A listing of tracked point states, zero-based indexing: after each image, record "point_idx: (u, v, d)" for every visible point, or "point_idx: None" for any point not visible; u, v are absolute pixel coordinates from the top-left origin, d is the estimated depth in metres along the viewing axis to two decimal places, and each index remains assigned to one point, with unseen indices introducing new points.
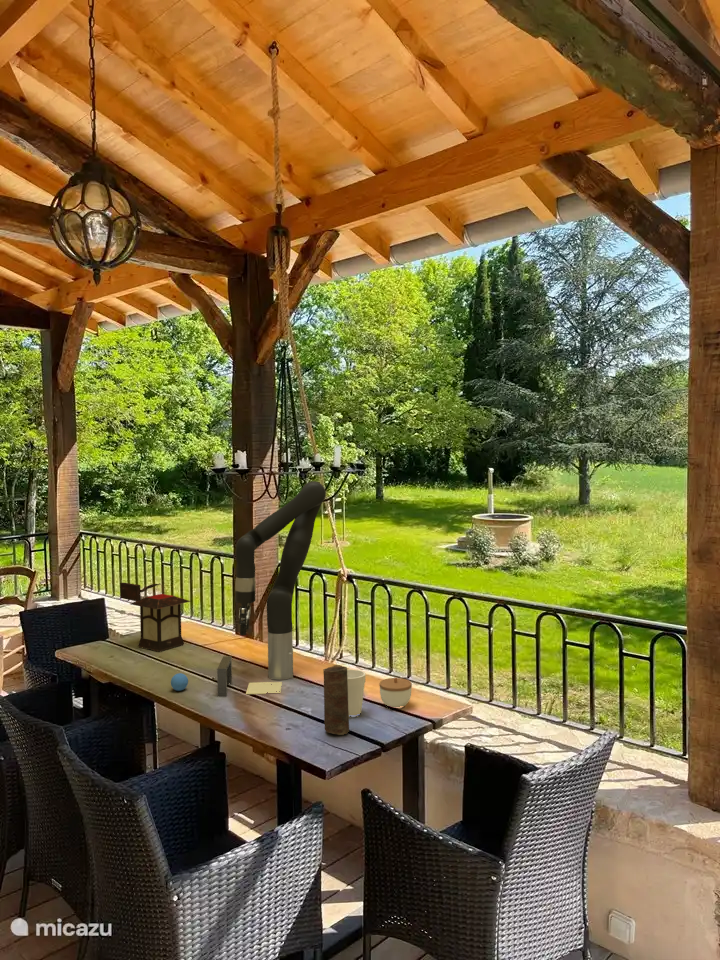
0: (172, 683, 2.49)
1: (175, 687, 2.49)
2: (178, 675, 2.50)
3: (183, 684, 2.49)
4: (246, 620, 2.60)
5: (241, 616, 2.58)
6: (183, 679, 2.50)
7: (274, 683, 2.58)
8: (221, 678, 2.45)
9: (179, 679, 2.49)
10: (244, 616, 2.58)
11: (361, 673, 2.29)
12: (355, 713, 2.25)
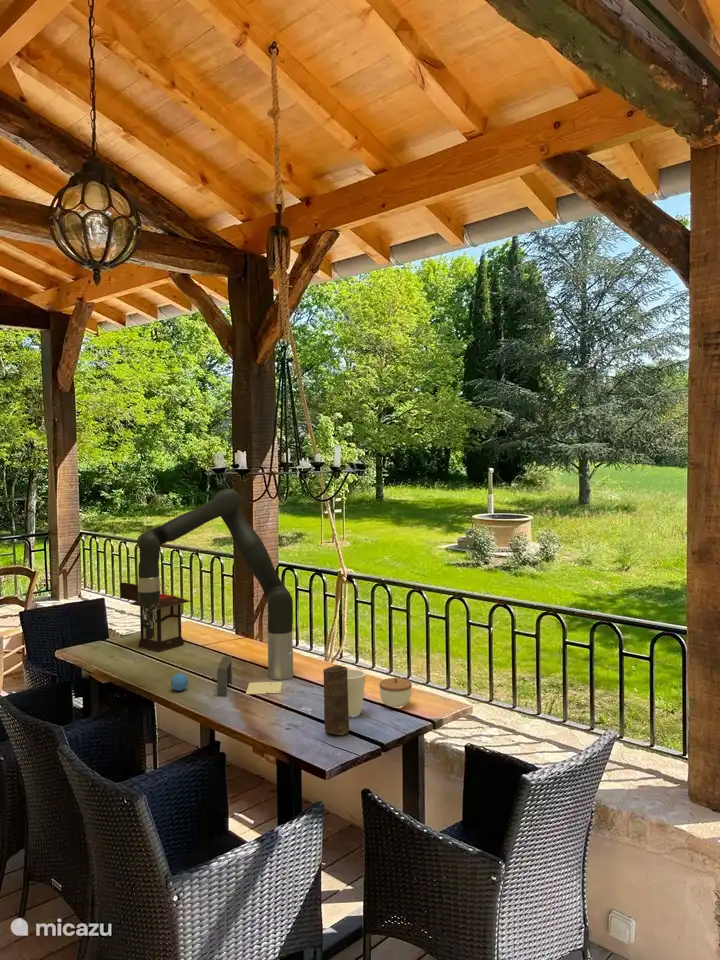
0: (172, 683, 2.49)
1: (175, 687, 2.49)
2: (178, 675, 2.50)
3: (183, 684, 2.49)
4: (151, 624, 2.48)
5: (144, 622, 2.45)
6: (183, 679, 2.50)
7: (274, 683, 2.58)
8: (221, 678, 2.45)
9: (179, 679, 2.49)
10: (147, 622, 2.45)
11: (361, 673, 2.29)
12: (355, 713, 2.25)
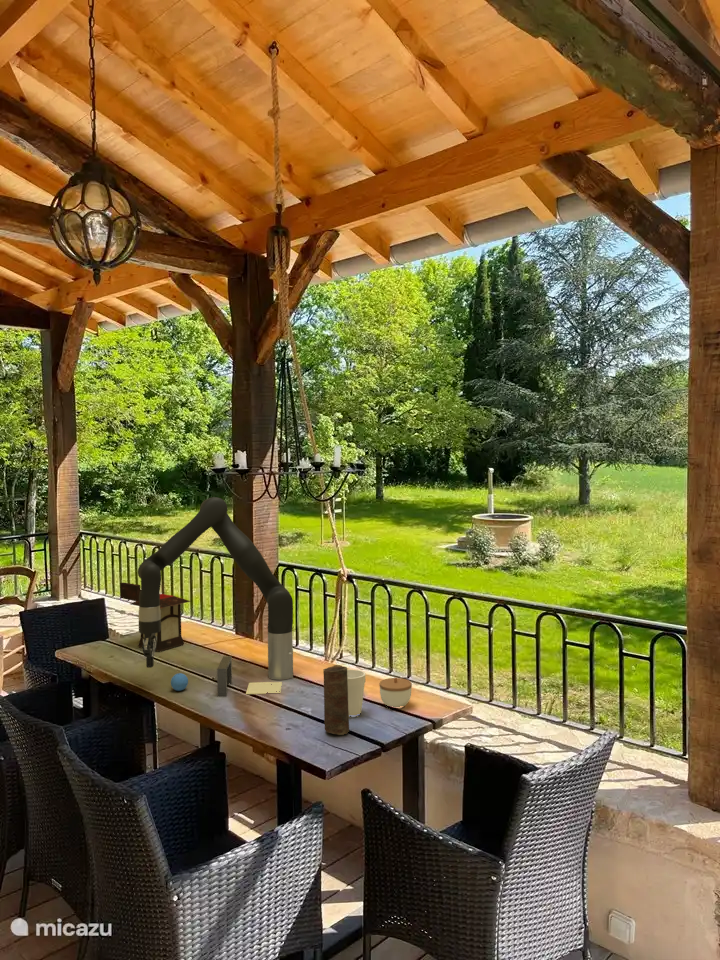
0: (172, 683, 2.49)
1: (175, 687, 2.49)
2: (178, 675, 2.50)
3: (183, 684, 2.49)
4: (152, 653, 2.49)
5: (145, 652, 2.46)
6: (183, 679, 2.50)
7: (274, 683, 2.58)
8: (221, 678, 2.45)
9: (179, 679, 2.49)
10: (148, 652, 2.46)
11: (361, 673, 2.29)
12: (355, 713, 2.25)
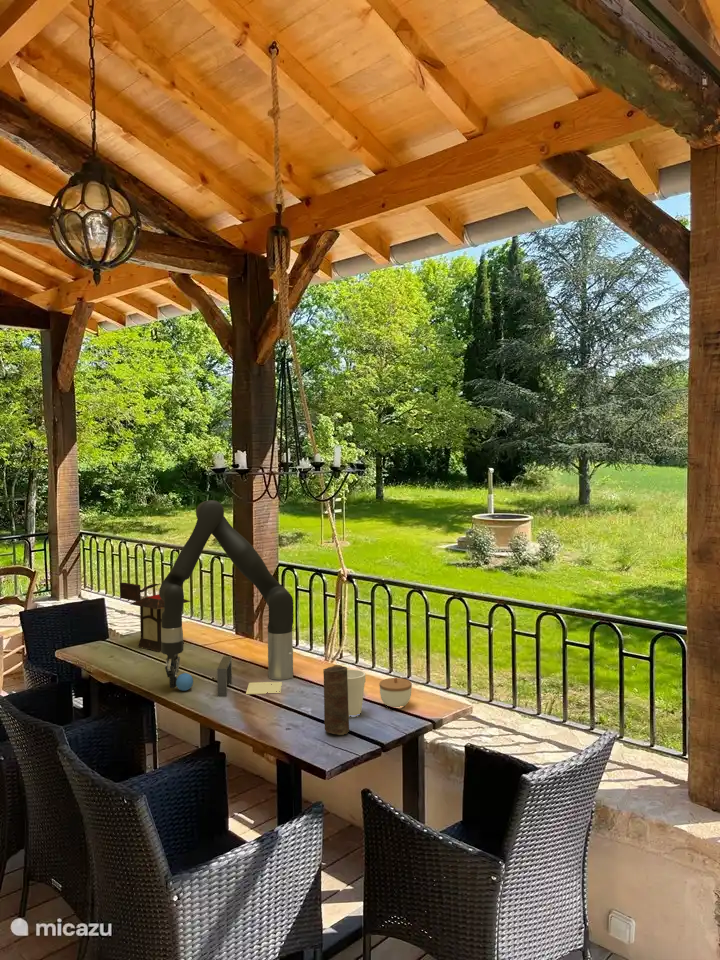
0: (178, 681, 2.49)
1: (179, 686, 2.49)
2: (186, 676, 2.50)
3: (187, 686, 2.49)
4: (175, 674, 2.50)
5: (168, 673, 2.47)
6: (189, 682, 2.50)
7: (274, 683, 2.58)
8: (221, 678, 2.45)
9: (186, 680, 2.49)
10: (171, 673, 2.47)
11: (361, 673, 2.29)
12: (355, 713, 2.25)
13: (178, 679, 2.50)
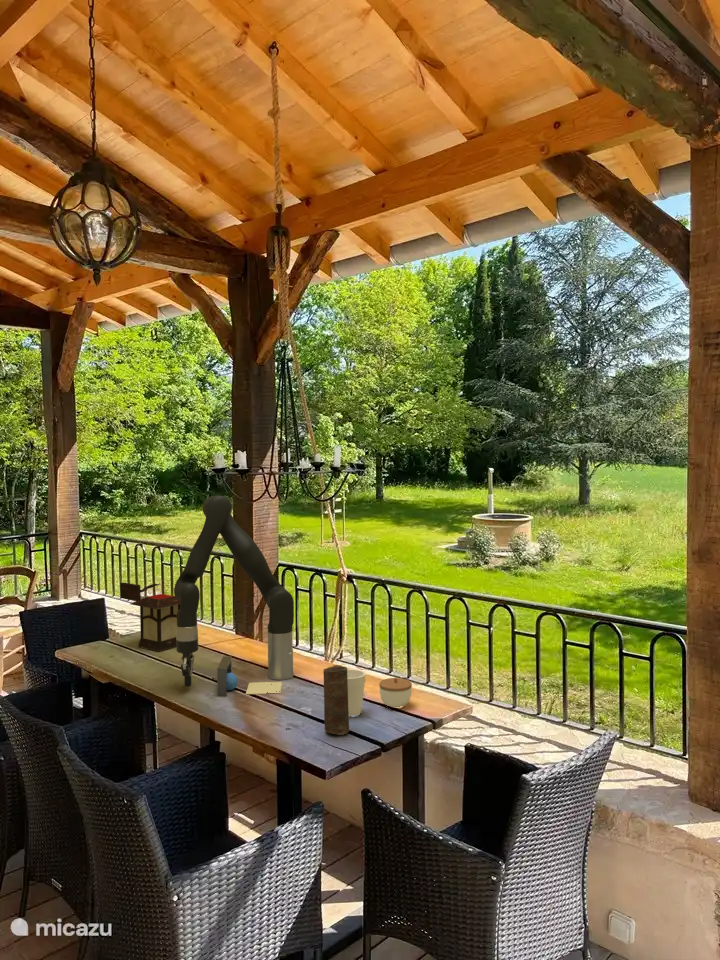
0: None
1: (228, 687, 2.49)
2: None
3: (232, 680, 2.49)
4: (190, 672, 2.50)
5: (183, 671, 2.47)
6: (230, 676, 2.50)
7: (274, 683, 2.58)
8: (221, 678, 2.45)
9: None
10: (187, 671, 2.47)
11: (361, 673, 2.29)
12: (355, 713, 2.25)
13: None
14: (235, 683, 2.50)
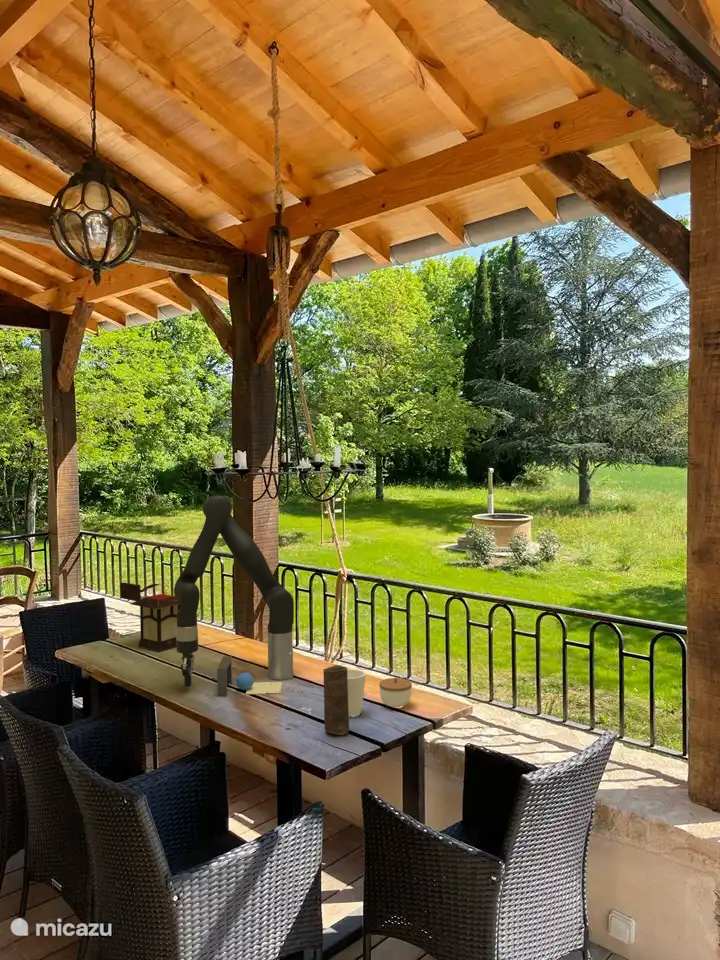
0: (242, 678, 2.50)
1: (240, 682, 2.49)
2: (251, 679, 2.51)
3: (245, 688, 2.50)
4: (190, 672, 2.50)
5: (183, 671, 2.47)
6: (250, 686, 2.50)
7: (274, 683, 2.58)
8: (221, 678, 2.45)
9: (248, 683, 2.49)
10: (187, 671, 2.47)
11: (361, 673, 2.29)
12: (355, 713, 2.25)
13: (243, 676, 2.50)
14: (242, 689, 2.50)
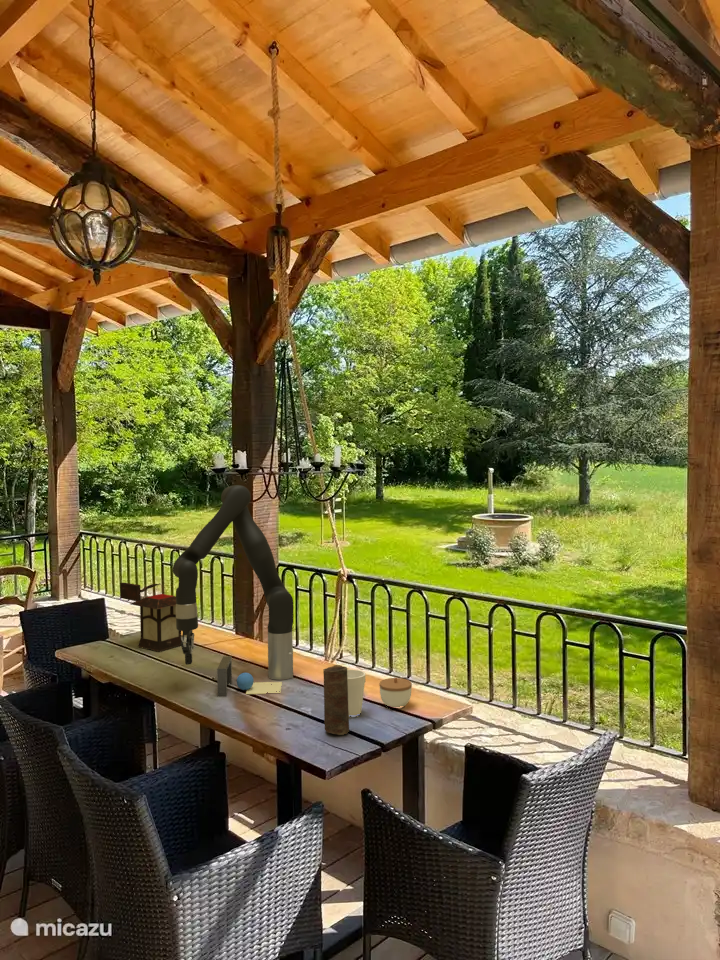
0: (242, 678, 2.50)
1: (240, 682, 2.49)
2: (251, 679, 2.51)
3: (245, 688, 2.50)
4: (190, 650, 2.50)
5: (184, 649, 2.46)
6: (250, 686, 2.50)
7: (274, 683, 2.58)
8: (221, 678, 2.45)
9: (248, 683, 2.49)
10: (187, 649, 2.46)
11: (361, 673, 2.29)
12: (355, 713, 2.25)
13: (243, 676, 2.50)
14: (242, 689, 2.50)
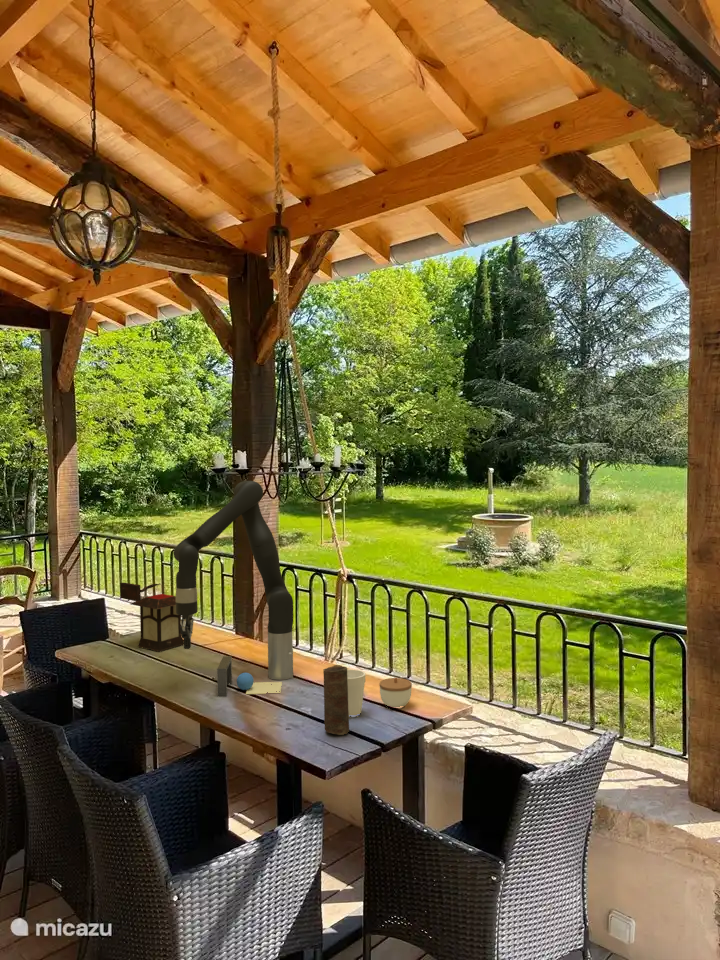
0: (242, 678, 2.50)
1: (240, 682, 2.49)
2: (251, 679, 2.51)
3: (245, 688, 2.50)
4: (189, 634, 2.50)
5: (183, 633, 2.46)
6: (250, 686, 2.50)
7: (274, 683, 2.58)
8: (221, 678, 2.45)
9: (248, 683, 2.49)
10: (186, 633, 2.46)
11: (361, 673, 2.29)
12: (355, 713, 2.25)
13: (243, 676, 2.50)
14: (242, 689, 2.50)
